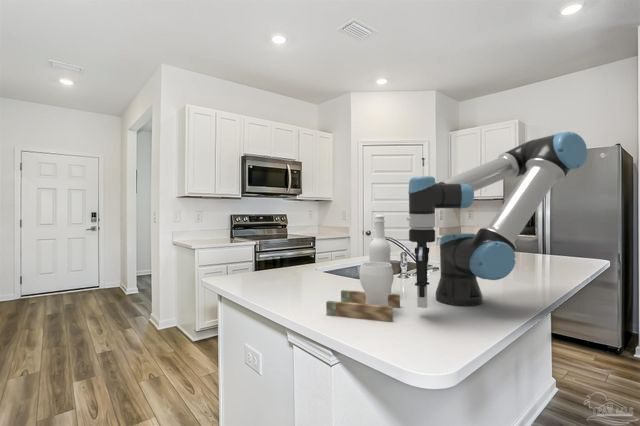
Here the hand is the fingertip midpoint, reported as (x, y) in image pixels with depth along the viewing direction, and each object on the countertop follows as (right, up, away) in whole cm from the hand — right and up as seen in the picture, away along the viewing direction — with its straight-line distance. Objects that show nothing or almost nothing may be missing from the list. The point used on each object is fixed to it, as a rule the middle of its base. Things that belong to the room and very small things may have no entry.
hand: (422, 306), depth 102 cm
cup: (-13, -3, +5) cm, 14 cm away
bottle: (-8, -3, +25) cm, 26 cm away
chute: (-16, -3, +7) cm, 18 cm away
